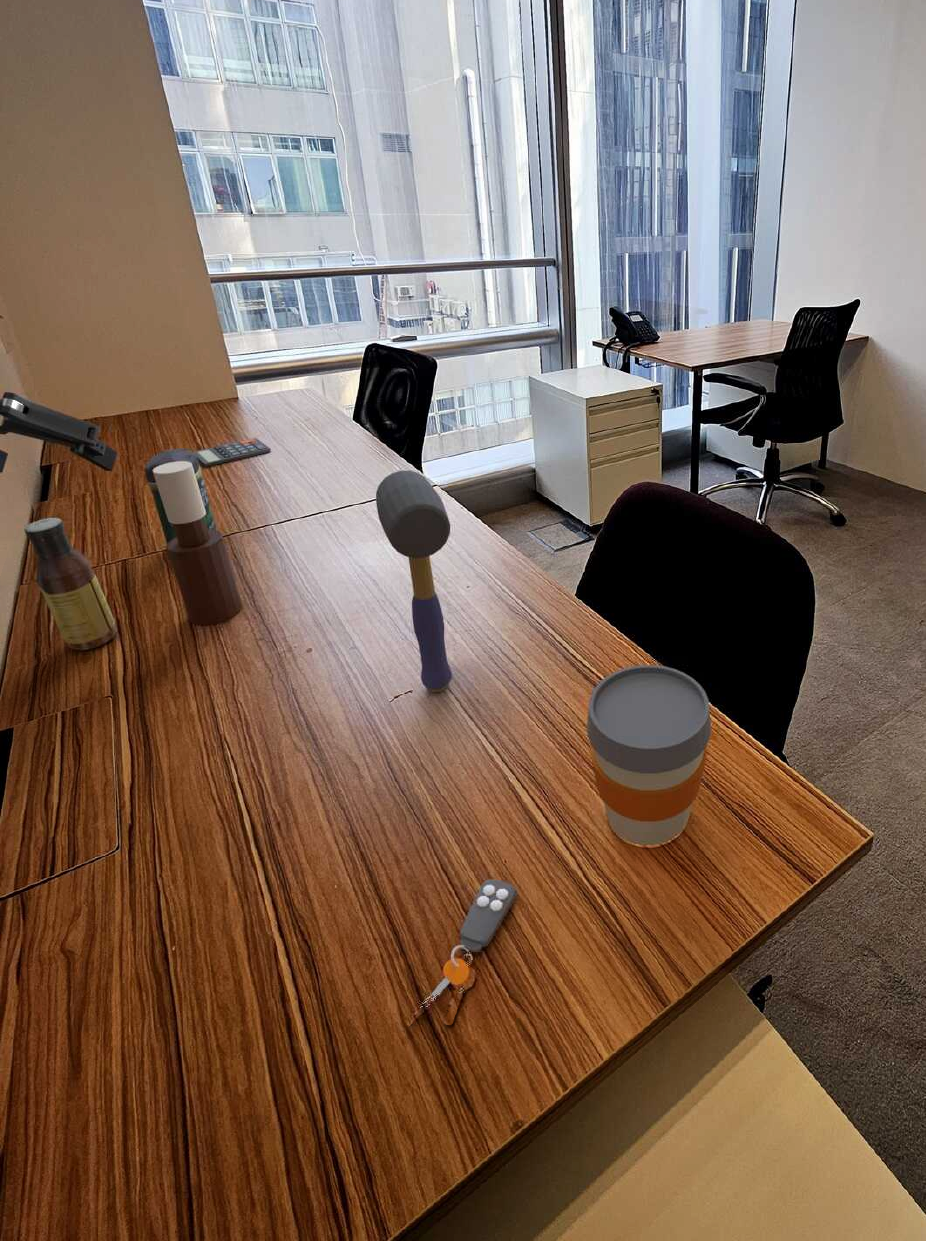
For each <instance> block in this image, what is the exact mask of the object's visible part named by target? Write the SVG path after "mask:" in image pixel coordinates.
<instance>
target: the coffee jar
mask: <svg viewBox="0 0 926 1241" xmlns="http://www.w3.org/2000/svg"><path fill="white" fill-rule="evenodd" d="M178 461H187V462H190V463H192V466H193V469H194V473H195V476H196V480H197V483H198V487H199V490H200V493H201V497H202V500H203V504H204V507H205V511H206V515H205V516H204V518H205V522H206V525H207V529H208V530H216V531H219V530H218V527H217V523H216V520H215V517H214V513H213V510H212V506H211V503H210V499H209V496H208V492H207V488H206V485H205V481H204V477H203V472H202V469H201V466H200V461H199V460H198V459H197V455H196V454H195V453H194V452H193V451H192V450H190V449H187V448H173V449H165V450H164V449H163V450H161V451H160V452H159V453H157V454H155V455H154V456H153V457H151V458H150V459H149V460H148V462H147V463H146V464H145V466H144V469H143V471H144V474H145V479H146V481H147V482H146V483H147V484H148V488H149V489H150V492H151V495H152V498H153V502H154V505H155V508H156V511H157V515H158V518H159V521H160V525H161V529H162V533H163V536H164V539H165V544H167V543H169V542H170V541H171V540H172V539H174V538H176V534H175V530H174V527H173V524H172V523H170V522H169V521H168V518H167V515H166V512H165V508H164V505H163V502H162V499H161V496H160V493H159V489H158V486H157V483H156V480H155V477H154V474H153V469H154V468H156V467H158V466H160V465H163V464H166V463H171V462H178Z"/></svg>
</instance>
